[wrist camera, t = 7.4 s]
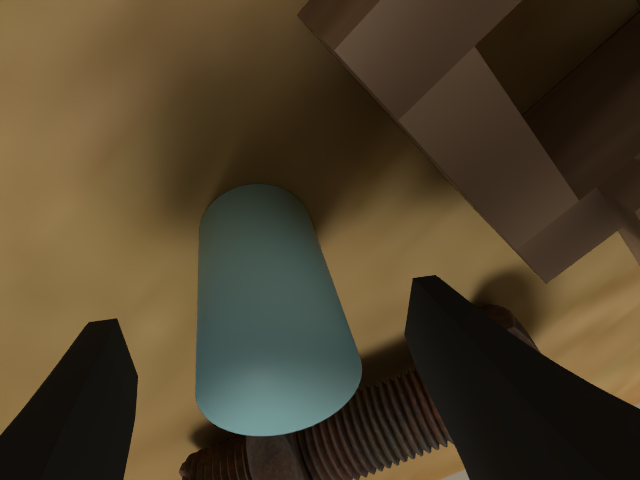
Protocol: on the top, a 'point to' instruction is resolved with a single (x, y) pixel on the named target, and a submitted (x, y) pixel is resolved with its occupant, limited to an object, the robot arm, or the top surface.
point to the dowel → (268, 318)
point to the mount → (503, 121)
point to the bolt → (343, 434)
